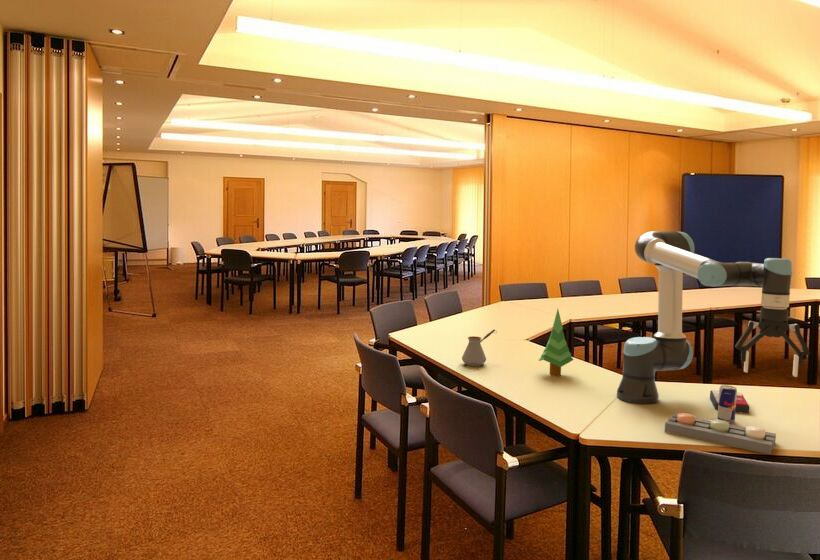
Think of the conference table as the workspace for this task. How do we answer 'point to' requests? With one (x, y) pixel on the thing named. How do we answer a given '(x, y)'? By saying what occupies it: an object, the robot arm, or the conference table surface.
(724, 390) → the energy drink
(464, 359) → the coffee pot
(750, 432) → the white button
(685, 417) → the terracotta button
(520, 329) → the conference table surface
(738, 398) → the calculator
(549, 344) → the decorative tree
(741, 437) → the button panel
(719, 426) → the sage button
